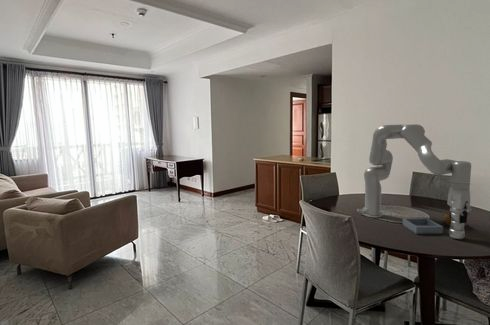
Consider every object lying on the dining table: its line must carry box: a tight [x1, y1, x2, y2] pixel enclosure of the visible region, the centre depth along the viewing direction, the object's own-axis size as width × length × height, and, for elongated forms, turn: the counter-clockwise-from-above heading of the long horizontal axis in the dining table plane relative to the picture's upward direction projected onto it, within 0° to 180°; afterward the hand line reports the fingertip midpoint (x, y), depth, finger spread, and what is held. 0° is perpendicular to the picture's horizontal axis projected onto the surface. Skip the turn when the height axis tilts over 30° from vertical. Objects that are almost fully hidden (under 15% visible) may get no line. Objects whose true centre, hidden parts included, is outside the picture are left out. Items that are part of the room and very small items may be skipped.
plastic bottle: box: [448, 207, 466, 240], centre depth 145 cm, size 6×7×20 cm
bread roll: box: [443, 212, 467, 227], centre depth 164 cm, size 13×10×8 cm
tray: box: [401, 217, 444, 235], centre depth 159 cm, size 14×14×4 cm
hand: (457, 220), depth 145 cm, fingers closed on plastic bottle, 6 cm apart
